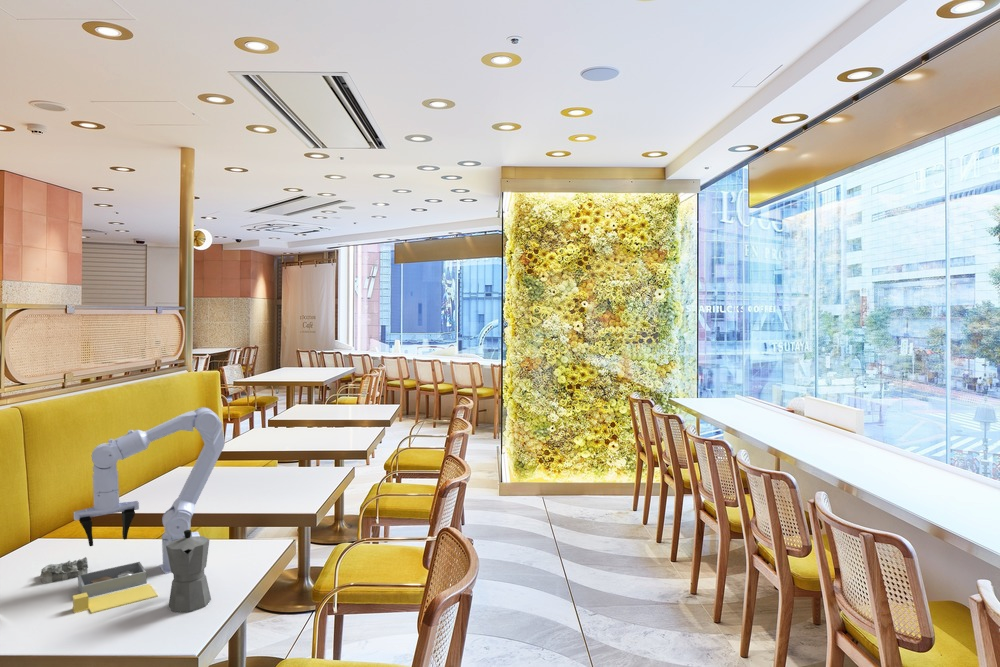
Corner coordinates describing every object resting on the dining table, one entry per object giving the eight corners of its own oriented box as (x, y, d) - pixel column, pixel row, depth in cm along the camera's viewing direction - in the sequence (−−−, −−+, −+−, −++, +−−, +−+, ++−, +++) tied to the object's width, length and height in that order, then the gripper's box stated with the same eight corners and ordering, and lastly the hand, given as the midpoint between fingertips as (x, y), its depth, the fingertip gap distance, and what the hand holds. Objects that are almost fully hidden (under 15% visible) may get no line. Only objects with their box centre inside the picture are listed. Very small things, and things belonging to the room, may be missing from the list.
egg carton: (39, 588, 171) (38, 572, 171) (41, 578, 177) (41, 563, 177) (88, 578, 176) (87, 563, 176) (88, 569, 183) (88, 554, 183)
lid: (149, 588, 169) (149, 573, 169) (157, 599, 162) (157, 584, 162) (71, 607, 159) (70, 591, 159) (76, 620, 152) (75, 604, 152)
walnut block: (107, 584, 170) (107, 575, 170) (112, 587, 169) (112, 578, 168) (90, 589, 167) (90, 581, 167) (95, 592, 165) (95, 583, 165)
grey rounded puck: (132, 578, 174) (132, 569, 174) (135, 582, 171) (134, 573, 171) (116, 581, 172) (116, 573, 172) (119, 586, 169) (118, 577, 169)
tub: (139, 574, 178) (139, 561, 178) (146, 585, 171) (146, 571, 170) (78, 588, 169) (77, 575, 169) (82, 600, 162) (82, 586, 162)
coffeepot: (212, 611, 155) (209, 535, 154) (167, 620, 151) (164, 541, 150) (210, 587, 169) (208, 517, 168) (169, 594, 165) (166, 522, 164)
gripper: (134, 482, 180) (136, 531, 181) (71, 492, 171) (73, 544, 172) (139, 487, 175) (141, 538, 175) (74, 497, 166) (76, 551, 166)
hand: (108, 541), depth 173 cm, fingers open, 7 cm apart
